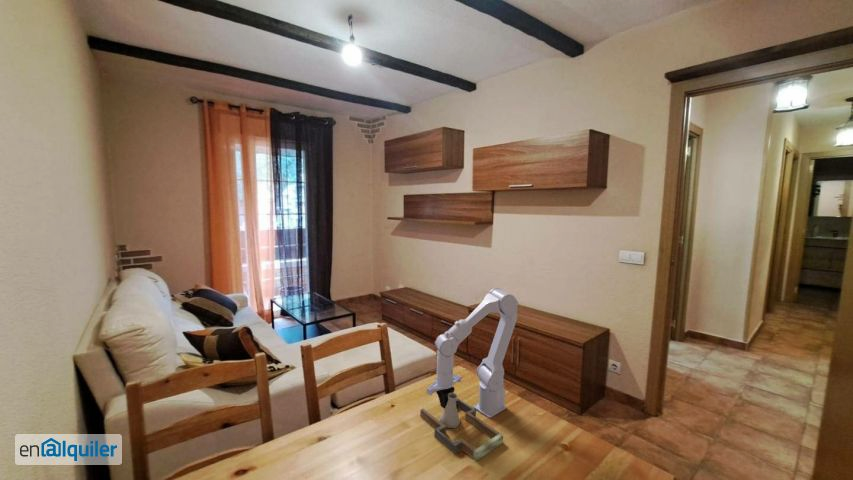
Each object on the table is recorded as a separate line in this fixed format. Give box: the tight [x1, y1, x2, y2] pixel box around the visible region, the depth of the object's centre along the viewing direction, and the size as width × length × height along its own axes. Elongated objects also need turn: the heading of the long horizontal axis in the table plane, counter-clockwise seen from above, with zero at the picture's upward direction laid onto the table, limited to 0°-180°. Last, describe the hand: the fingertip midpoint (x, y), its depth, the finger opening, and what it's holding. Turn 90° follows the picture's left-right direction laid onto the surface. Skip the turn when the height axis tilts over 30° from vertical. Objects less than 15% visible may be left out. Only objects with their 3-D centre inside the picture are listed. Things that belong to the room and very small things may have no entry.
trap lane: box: [420, 397, 504, 462], centre depth 114 cm, size 18×26×2 cm
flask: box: [439, 392, 461, 429], centre depth 116 cm, size 7×7×10 cm
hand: (443, 406), depth 119 cm, fingers closed, pressing on flask
